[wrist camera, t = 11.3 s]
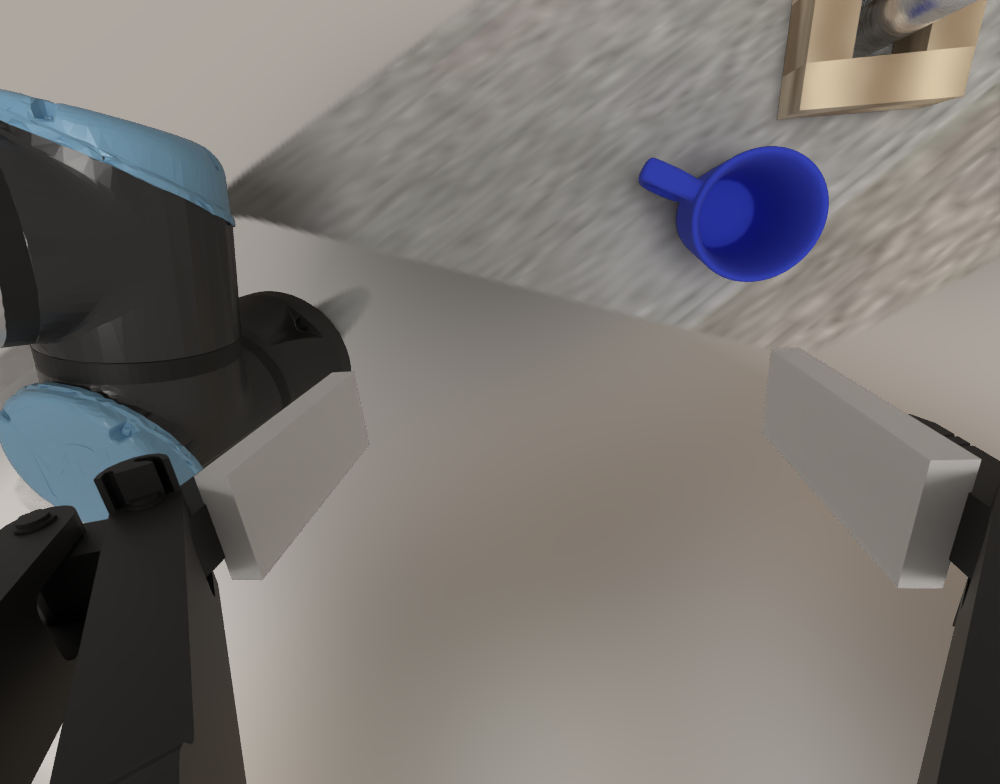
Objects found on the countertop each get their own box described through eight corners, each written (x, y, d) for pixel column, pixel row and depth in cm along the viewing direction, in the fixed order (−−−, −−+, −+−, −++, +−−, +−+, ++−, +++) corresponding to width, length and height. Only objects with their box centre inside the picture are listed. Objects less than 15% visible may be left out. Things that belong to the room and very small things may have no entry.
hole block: (777, 119, 37) (799, 110, 33) (798, -44, 33) (826, -74, 30) (922, 107, 35) (963, 96, 32) (961, -65, 32) (1012, -100, 28)
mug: (654, 122, 38) (680, 96, 29) (791, 185, 38) (859, 179, 29) (606, 222, 41) (615, 228, 32) (732, 280, 42) (778, 302, 32)
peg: (834, 60, 35) (953, -4, 24) (843, 11, 34) (970, -80, 23) (880, 56, 35) (1021, -11, 24) (890, 5, 34) (1043, -90, 23)
